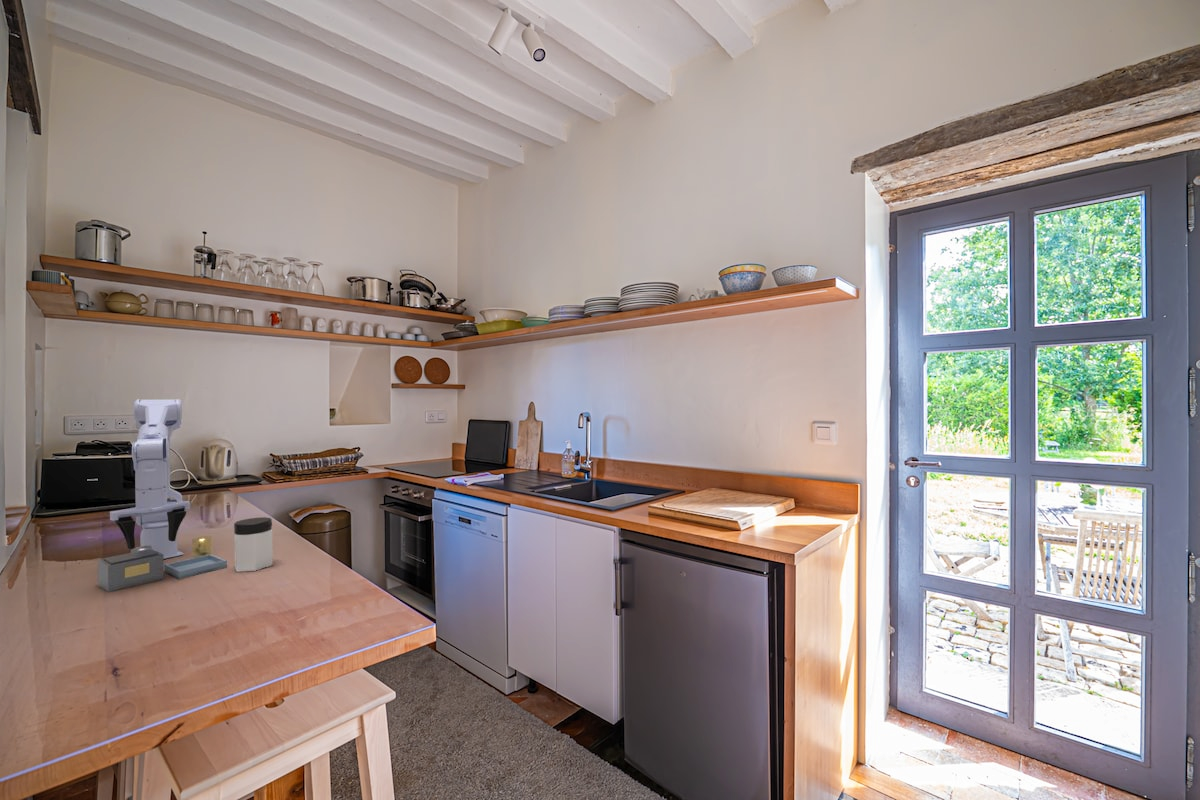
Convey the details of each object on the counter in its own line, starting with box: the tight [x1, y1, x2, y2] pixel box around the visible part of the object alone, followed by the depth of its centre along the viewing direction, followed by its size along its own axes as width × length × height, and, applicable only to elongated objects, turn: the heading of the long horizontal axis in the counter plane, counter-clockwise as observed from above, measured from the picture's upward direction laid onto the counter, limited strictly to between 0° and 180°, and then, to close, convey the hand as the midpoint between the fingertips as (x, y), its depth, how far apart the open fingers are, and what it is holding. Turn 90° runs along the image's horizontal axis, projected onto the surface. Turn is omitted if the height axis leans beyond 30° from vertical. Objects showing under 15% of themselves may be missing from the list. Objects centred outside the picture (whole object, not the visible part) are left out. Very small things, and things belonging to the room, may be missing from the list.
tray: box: [164, 553, 228, 580], centre depth 131 cm, size 10×10×2 cm
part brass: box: [191, 535, 212, 558], centre depth 139 cm, size 4×4×6 cm
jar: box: [233, 516, 274, 573], centre depth 133 cm, size 9×8×12 cm
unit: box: [97, 549, 165, 593], centre depth 122 cm, size 9×10×6 cm
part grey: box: [130, 546, 152, 553], centre depth 130 cm, size 4×4×6 cm
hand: (152, 544), depth 122 cm, fingers open, 7 cm apart
